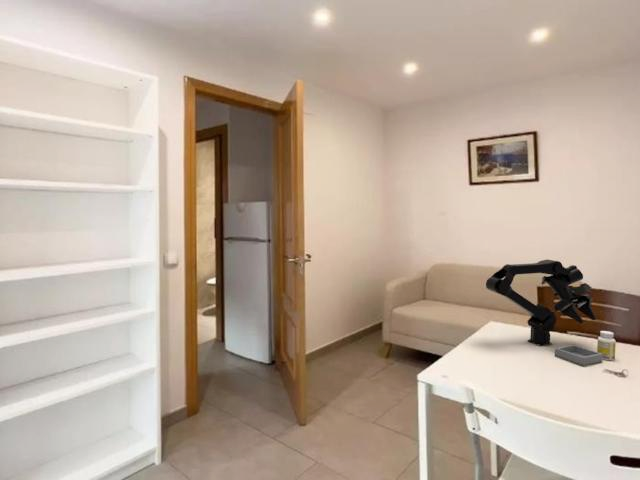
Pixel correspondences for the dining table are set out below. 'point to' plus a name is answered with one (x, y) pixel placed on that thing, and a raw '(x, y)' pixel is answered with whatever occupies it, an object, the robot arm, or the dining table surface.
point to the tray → (578, 355)
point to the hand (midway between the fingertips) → (588, 321)
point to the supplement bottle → (606, 345)
